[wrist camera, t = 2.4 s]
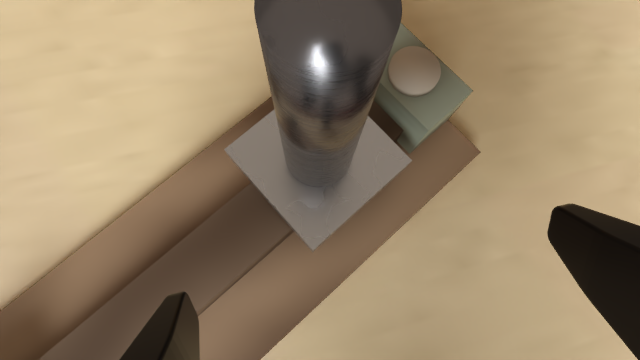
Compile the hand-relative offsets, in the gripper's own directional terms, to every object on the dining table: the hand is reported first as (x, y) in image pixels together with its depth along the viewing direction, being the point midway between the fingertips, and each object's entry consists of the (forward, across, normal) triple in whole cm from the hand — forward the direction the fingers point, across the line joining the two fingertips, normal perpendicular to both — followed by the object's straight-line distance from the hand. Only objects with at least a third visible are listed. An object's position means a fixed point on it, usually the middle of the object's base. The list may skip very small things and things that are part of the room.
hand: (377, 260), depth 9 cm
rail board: (+10, +5, +7) cm, 13 cm away
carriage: (+10, 0, +3) cm, 10 cm away
